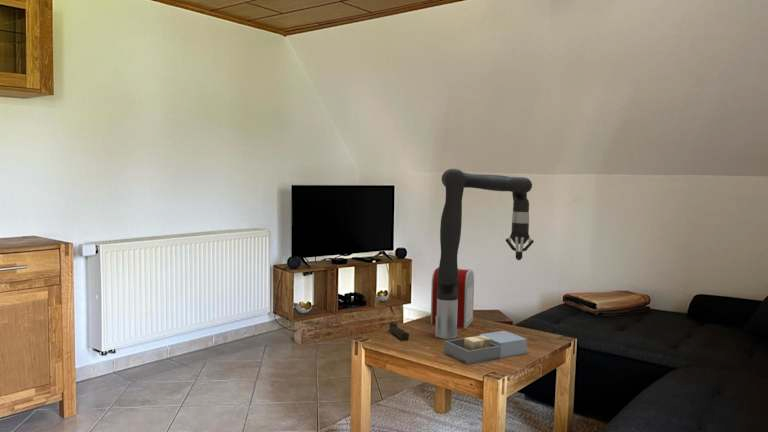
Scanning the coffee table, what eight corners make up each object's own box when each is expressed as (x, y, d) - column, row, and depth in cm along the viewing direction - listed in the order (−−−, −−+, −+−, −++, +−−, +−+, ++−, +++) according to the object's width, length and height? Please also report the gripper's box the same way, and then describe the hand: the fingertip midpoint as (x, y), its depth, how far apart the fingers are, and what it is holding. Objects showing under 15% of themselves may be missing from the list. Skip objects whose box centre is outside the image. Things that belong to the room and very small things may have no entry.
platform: (504, 344, 260) (504, 330, 259) (526, 353, 248) (526, 338, 247) (478, 348, 253) (478, 334, 253) (499, 357, 241) (500, 343, 240)
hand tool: (409, 341, 263) (409, 330, 263) (400, 341, 262) (400, 331, 262) (395, 330, 281) (396, 320, 281) (387, 330, 280) (387, 320, 280)
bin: (475, 348, 254) (476, 336, 253) (500, 358, 240) (500, 346, 239) (444, 353, 246) (444, 341, 246) (467, 364, 232) (468, 351, 232)
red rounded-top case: (439, 316, 307) (440, 264, 305) (473, 320, 301) (475, 267, 299) (430, 324, 292) (431, 269, 290) (465, 328, 286) (467, 272, 284)
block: (481, 335, 248) (464, 338, 243) (491, 339, 242) (473, 341, 238) (481, 349, 248) (463, 352, 244) (490, 353, 243) (473, 356, 239)
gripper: (504, 221, 268) (503, 260, 270) (535, 223, 265) (533, 262, 266) (506, 220, 276) (504, 258, 277) (535, 221, 272) (534, 259, 273)
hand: (518, 259), depth 272 cm, fingers closed
